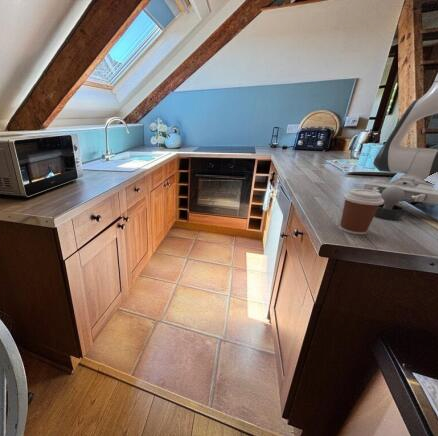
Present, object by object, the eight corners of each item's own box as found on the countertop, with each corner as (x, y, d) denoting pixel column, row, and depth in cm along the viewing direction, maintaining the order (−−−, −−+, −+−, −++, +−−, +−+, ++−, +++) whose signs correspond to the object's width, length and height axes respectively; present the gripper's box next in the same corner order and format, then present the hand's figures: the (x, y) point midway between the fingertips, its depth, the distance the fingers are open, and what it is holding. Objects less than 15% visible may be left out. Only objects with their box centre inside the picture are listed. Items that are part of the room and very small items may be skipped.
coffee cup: (378, 232, 72) (393, 193, 68) (361, 238, 69) (376, 198, 64) (344, 221, 80) (356, 186, 75) (327, 227, 76) (338, 190, 72)
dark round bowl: (393, 213, 86) (397, 204, 85) (405, 221, 79) (409, 211, 78) (366, 210, 89) (369, 201, 87) (375, 218, 82) (379, 208, 81)
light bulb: (387, 212, 86) (398, 184, 82) (400, 218, 81) (412, 189, 77) (370, 211, 87) (380, 184, 83) (382, 217, 82) (393, 188, 78)
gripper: (371, 175, 95) (358, 180, 88) (450, 185, 79) (443, 193, 72) (365, 190, 97) (353, 197, 90) (442, 203, 82) (433, 213, 75)
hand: (393, 195), depth 81 cm, fingers open, 8 cm apart
